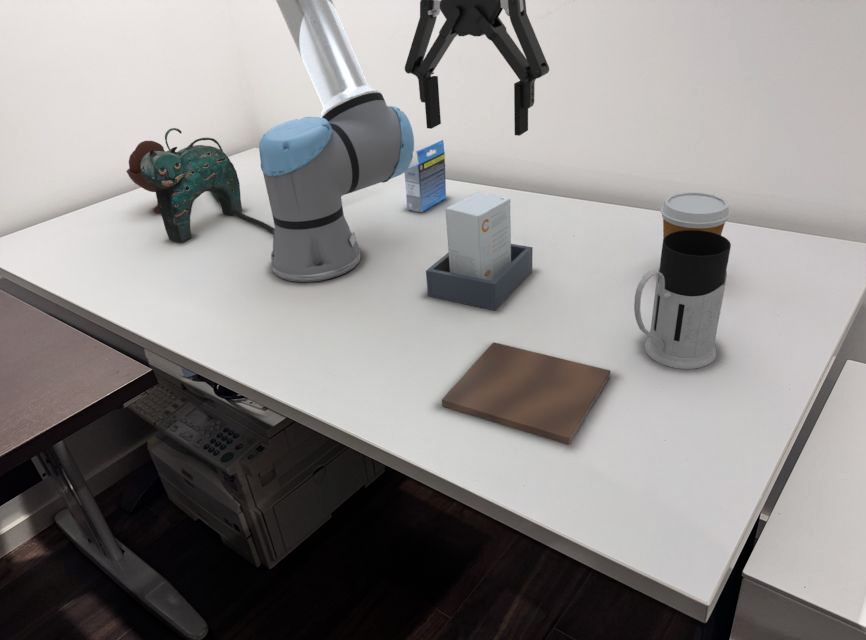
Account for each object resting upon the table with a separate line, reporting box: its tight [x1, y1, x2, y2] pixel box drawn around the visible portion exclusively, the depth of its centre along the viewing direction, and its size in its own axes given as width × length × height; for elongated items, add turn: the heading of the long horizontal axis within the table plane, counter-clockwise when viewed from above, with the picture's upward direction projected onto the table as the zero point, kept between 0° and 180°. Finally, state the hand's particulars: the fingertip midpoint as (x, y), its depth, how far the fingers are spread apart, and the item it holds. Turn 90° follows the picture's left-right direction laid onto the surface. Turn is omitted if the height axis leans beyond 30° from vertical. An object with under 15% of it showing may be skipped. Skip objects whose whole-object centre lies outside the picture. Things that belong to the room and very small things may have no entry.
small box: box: [444, 191, 512, 281], centre depth 102 cm, size 8×6×13 cm
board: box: [441, 342, 611, 445], centre depth 81 cm, size 16×14×1 cm
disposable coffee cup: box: [660, 191, 731, 240], centre depth 100 cm, size 10×10×12 cm
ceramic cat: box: [140, 127, 243, 244], centre depth 130 cm, size 20×6×20 cm, turn 150°
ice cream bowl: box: [126, 140, 165, 215], centre depth 141 cm, size 11×11×15 cm
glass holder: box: [633, 230, 732, 370], centre depth 81 cm, size 9×14×15 cm, turn 125°
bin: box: [425, 243, 534, 311], centre depth 105 cm, size 12×14×4 cm
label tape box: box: [404, 139, 447, 213], centre depth 133 cm, size 9×4×12 cm, turn 144°
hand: (476, 129), depth 93 cm, fingers open, 13 cm apart
